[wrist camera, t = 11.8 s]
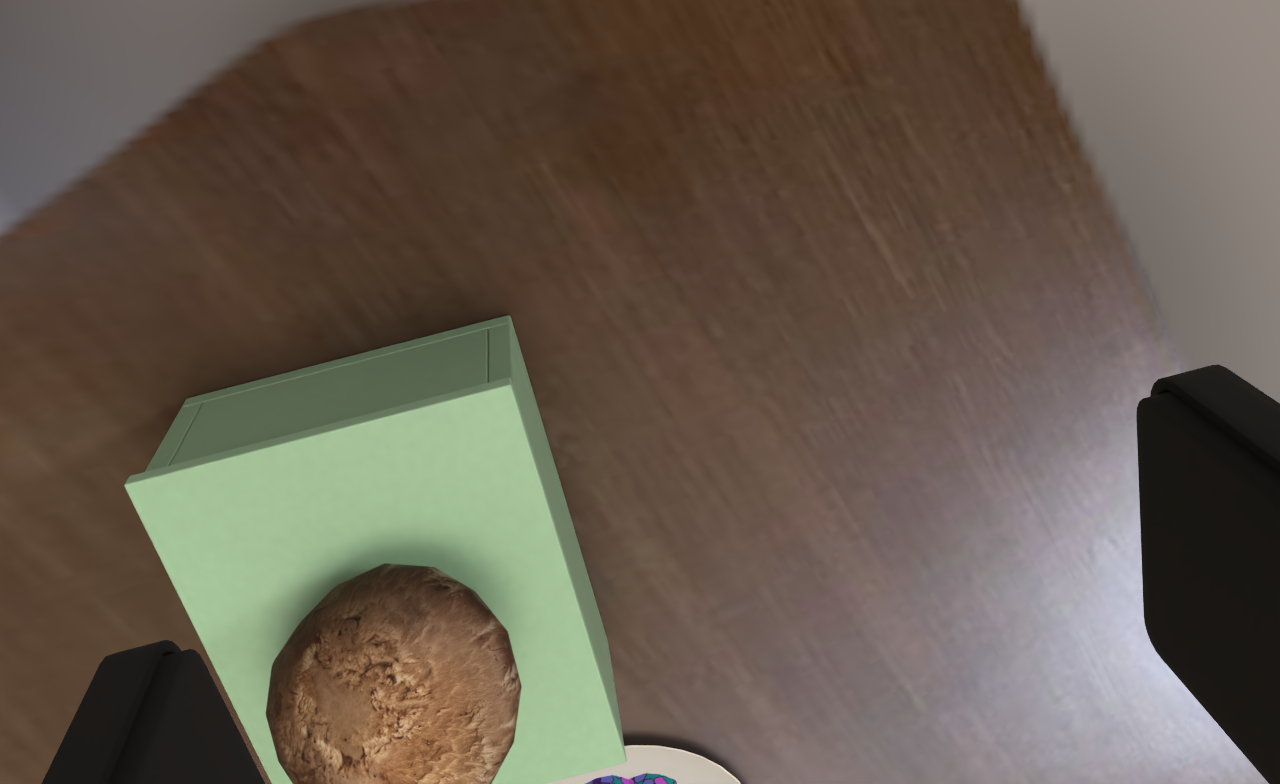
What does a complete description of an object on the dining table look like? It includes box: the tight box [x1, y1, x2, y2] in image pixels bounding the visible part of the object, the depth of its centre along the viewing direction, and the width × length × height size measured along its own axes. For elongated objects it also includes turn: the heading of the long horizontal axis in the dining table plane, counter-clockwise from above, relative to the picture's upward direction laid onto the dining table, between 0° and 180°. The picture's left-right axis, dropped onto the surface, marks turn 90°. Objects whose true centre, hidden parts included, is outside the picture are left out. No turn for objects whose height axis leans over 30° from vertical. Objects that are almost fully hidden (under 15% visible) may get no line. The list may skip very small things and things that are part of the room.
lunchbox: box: [145, 315, 624, 745], centre depth 40 cm, size 15×12×6 cm
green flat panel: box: [124, 377, 627, 784], centre depth 36 cm, size 15×12×1 cm
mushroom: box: [266, 563, 522, 784], centre depth 34 cm, size 8×8×6 cm
